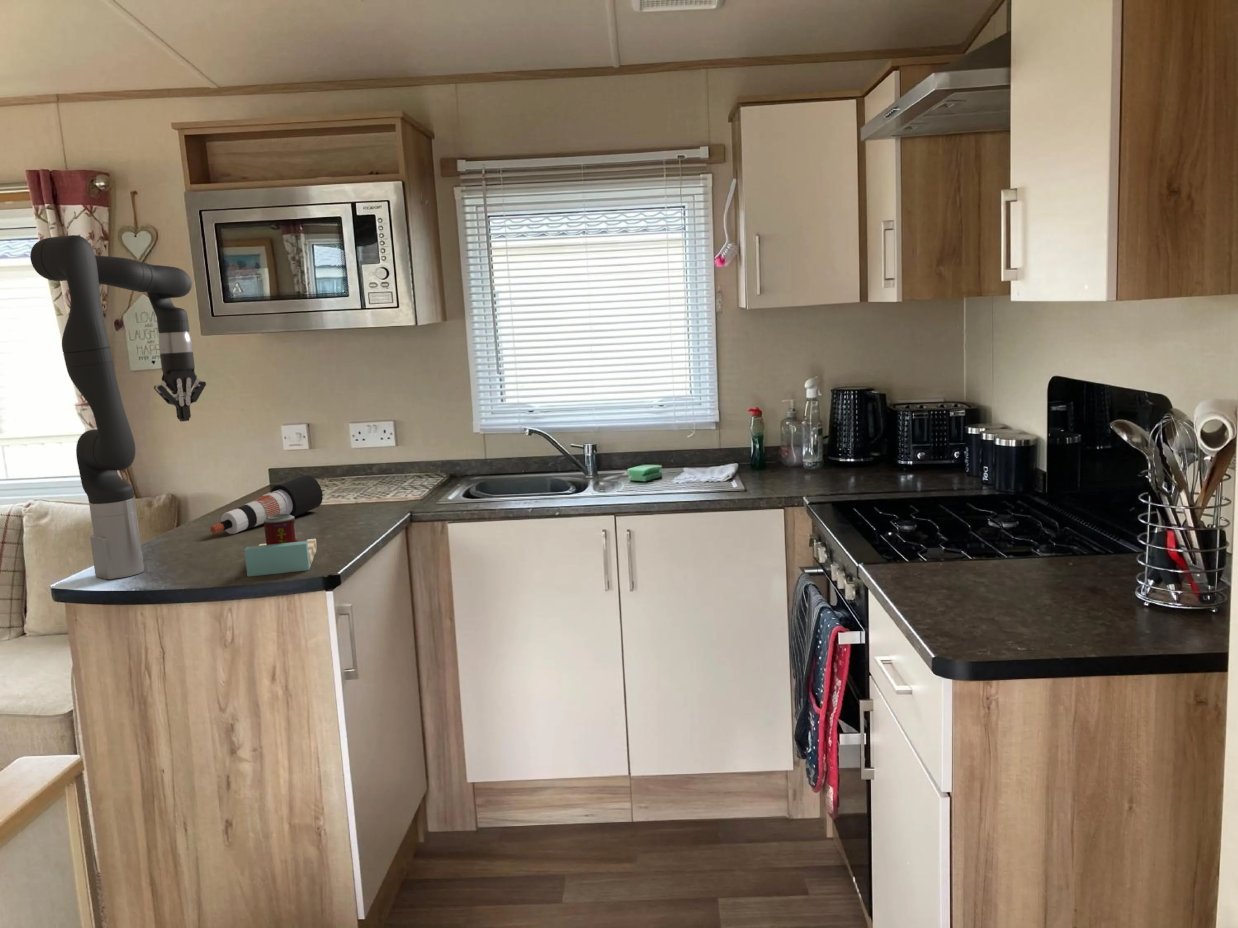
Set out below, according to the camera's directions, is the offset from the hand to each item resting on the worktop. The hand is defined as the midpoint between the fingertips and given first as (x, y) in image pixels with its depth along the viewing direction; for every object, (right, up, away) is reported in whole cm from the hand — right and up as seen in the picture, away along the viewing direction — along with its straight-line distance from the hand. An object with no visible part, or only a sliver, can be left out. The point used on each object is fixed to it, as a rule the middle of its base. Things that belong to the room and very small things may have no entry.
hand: (184, 420), depth 247 cm
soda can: (+32, -34, -22) cm, 52 cm away
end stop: (+33, -35, -27) cm, 55 cm away
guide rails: (+31, -33, -16) cm, 48 cm away
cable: (+11, -28, +27) cm, 40 cm away
